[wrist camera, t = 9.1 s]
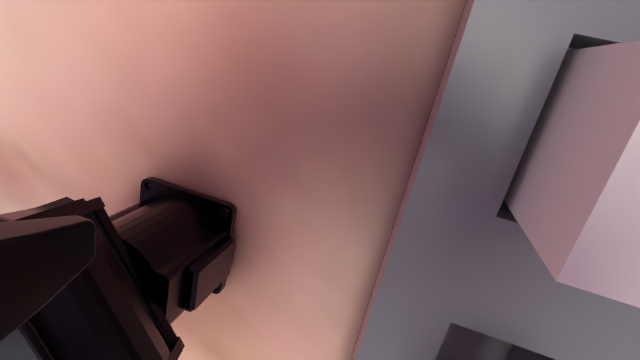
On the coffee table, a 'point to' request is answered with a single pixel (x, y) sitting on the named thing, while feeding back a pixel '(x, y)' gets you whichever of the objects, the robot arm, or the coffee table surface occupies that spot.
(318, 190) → the coffee table surface
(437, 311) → the header
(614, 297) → the pale pink plug
